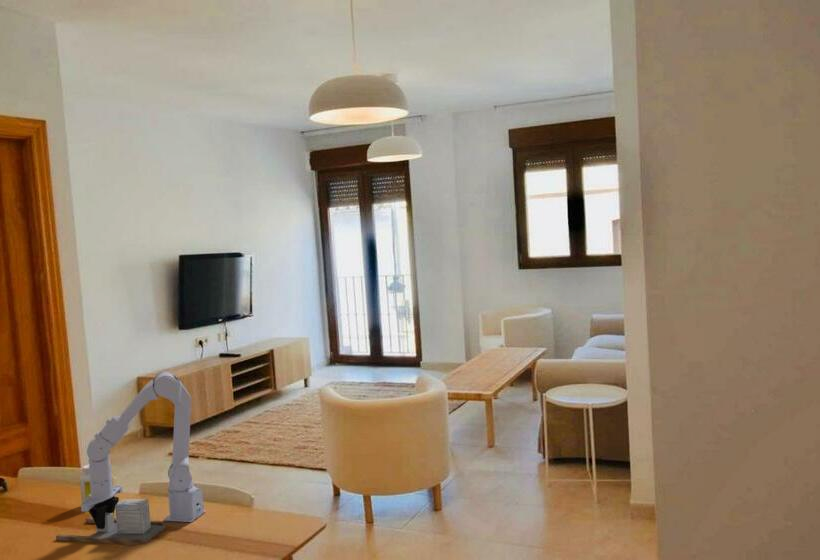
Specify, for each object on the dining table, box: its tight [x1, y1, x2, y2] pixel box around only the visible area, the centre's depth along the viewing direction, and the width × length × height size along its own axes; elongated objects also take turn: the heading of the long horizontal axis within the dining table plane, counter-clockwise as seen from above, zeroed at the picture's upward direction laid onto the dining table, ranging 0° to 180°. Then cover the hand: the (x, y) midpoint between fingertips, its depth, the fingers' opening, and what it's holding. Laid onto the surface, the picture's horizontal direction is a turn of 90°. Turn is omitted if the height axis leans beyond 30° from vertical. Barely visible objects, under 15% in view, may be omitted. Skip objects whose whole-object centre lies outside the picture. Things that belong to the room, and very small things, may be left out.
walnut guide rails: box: [55, 516, 164, 546], centre depth 185 cm, size 26×13×1 cm, turn 76°
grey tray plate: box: [90, 513, 166, 544], centre depth 183 cm, size 18×9×5 cm, turn 76°
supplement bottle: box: [79, 464, 91, 504], centre depth 207 cm, size 7×7×13 cm
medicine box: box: [115, 498, 151, 534], centre depth 183 cm, size 8×4×9 cm, turn 84°
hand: (104, 525), depth 185 cm, fingers closed on grey tray plate, 2 cm apart
